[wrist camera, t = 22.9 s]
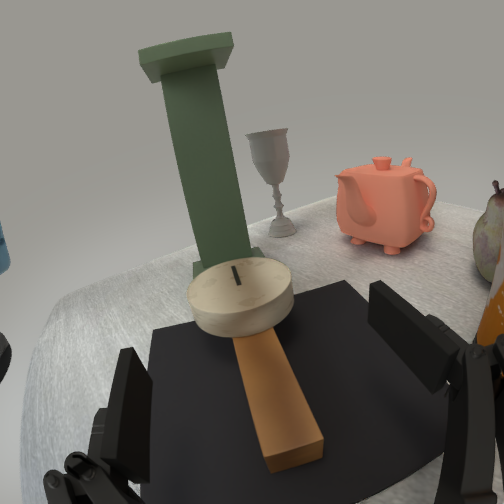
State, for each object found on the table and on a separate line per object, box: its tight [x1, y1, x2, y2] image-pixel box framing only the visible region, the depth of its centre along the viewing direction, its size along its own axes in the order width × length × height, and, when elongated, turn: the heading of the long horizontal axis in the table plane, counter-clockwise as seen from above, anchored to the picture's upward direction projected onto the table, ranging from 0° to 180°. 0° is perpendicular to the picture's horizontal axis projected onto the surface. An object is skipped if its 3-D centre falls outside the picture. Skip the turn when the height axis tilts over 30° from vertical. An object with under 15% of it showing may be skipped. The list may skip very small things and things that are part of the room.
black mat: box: [140, 280, 449, 504], centre depth 19 cm, size 22×22×1 cm
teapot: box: [335, 157, 437, 255], centre depth 37 cm, size 15×17×13 cm
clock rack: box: [138, 32, 265, 280], centre depth 31 cm, size 10×9×30 cm
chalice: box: [245, 128, 296, 237], centre depth 46 cm, size 7×7×18 cm
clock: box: [187, 257, 324, 473], centre depth 20 cm, size 9×19×6 cm, turn 12°
